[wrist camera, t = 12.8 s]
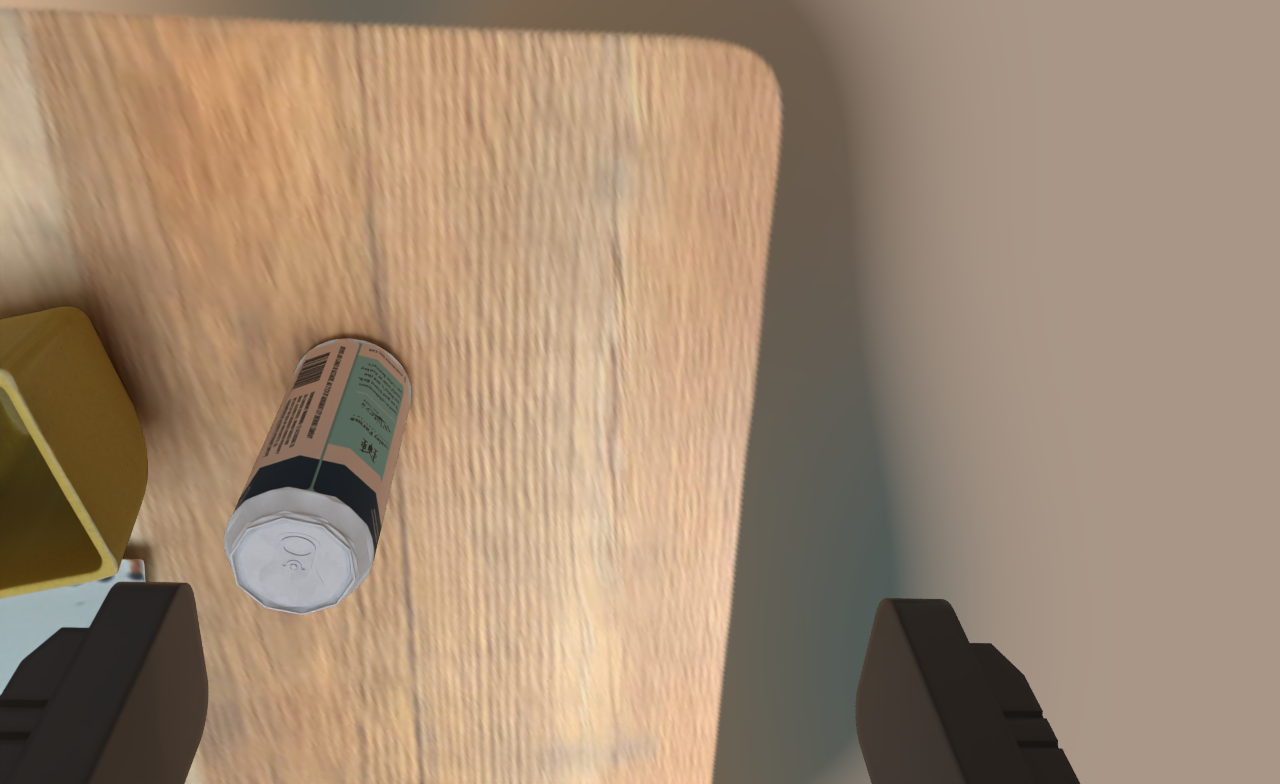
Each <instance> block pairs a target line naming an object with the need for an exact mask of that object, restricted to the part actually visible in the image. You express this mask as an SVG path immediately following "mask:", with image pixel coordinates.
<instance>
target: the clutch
mask: <svg viewBox="0 0 1280 784" xmlns="http://www.w3.org/2000/svg"><path fill="white" fill-rule="evenodd" d="M117 582H145V568H144V562H143V560H141V559H122V561H121V565H120V568H119V571H118V573H117V574H115V575H113V576H110V577H107V578H104V579H100V580H97V581H93V582H88V583H84V584H79V585H73V586H67V587H61V588H55V589H50V590H46V591H40V592H35V593H29V594H23V595H18V596H13V597H8V598H3V599H0V695H1V694H2V692H3V690H4V689H5V687H6V685H7V684H8V682H9V680H10V679H11V677H12V676H13V674H14V672H15V671H16V669H17V667H18V666H19V664H20V662H21V661H22V660H23V659H24V658H25V657H27V656H28V655H29V654H30V653H31V652H33V651H34V650H35V649H36V648H37V647H39V646H40V645H41V644H42V643H43V642H45V641H46V640H47V639H48V638H49V637H51V636H52V635H53V634H54V633H55V632H57V631H58V630H59V629H60V628H61V627H78V628H89V627H90V625H91V623H92V621H93V619H94V618H95V616H96V614H97V612H98V610H99V609H100V607H101V605H102V603H103V601H104V599H105V598H106V596H107V594H108V592H109V591H110V589H111V588H112V587H113V585H114V584H116V583H117Z"/></svg>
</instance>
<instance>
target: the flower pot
mask: <svg viewBox="0 0 1280 784" xmlns="http://www.w3.org/2000/svg"><path fill="white" fill-rule="evenodd" d="M147 478H148V459H147V450H146V444H145V439H144V436H143V432H142V428H141V425H140V422H139V419H138V417H137V414H136V411H135V408H134V406H133V404H132V402H131V400H130V398H129V396H128V394H127V392H126V390H125V388H124V386H123V384H122V382H121V381H120V379H119V377H118V375H117V373H116V371H115V369H114V367H113V365H112V363H111V361H110V359H109V357H108V355H107V353H106V351H105V349H104V347H103V345H102V343H101V341H100V339H99V337H98V335H97V333H96V331H95V329H94V327H93V325H92V323H91V321H90V319H89V317H88V316H87V315H86V314H85V313H84V312H83V311H81V310H79V309H78V308H74V307H57V308H52V309H48V310H43V311H39V312H34V313H30V314H25V315H20V316H15V317H10V318H5V319H0V599H3V598H8V597H13V596H18V595H23V594H29V593H35V592H40V591H46V590H50V589H55V588H61V587H67V586H73V585H79V584H84V583H88V582H93V581H97V580H100V579H104V578H107V577H110V576H113V575H115V574H117V573H118V571H119V568H120V565H121V561H122V558H123V555H124V552H125V549H126V547H127V544H128V541H129V538H130V535H131V533H132V530H133V527H134V524H135V521H136V518H137V515H138V512H139V510H140V507H141V504H142V500H143V497H144V494H145V490H146V485H147Z"/></svg>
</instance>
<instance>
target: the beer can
mask: <svg viewBox="0 0 1280 784" xmlns="http://www.w3.org/2000/svg"><path fill="white" fill-rule="evenodd" d="M410 401H411V387H410V382H409V379H408V376H407V374H406V372H405V370H404V369H403V367H402V365H401V364H400V363H399V362H398V361H397V360H396V359H395V358H394V357H393V356H392V355H391V354H390V353H389V352H387V351H386V350H384V349H382V348H381V347H379V346H377V345H375V344H372V343H369V342H367V341H363V340H357V339H335V340H331V341H328V342H325V343H323V344H320V345H318V346H316V347H314V348H313V349H311V350H310V351H309V352H308V353H307V354H306V355H305V356H304V357H303V358H302V359H301V360H300V362H299V364H298V365H297V367H296V369H295V372H294V375H293V378H292V380H291V383H290V385H289V387H288V389H287V392H286V394H285V396H284V399H283V401H282V403H281V405H280V408H279V410H278V412H277V415H276V417H275V419H274V421H273V424H272V426H271V428H270V431H269V433H268V435H267V437H266V440H265V442H264V444H263V447H262V449H261V451H260V453H259V456H258V458H257V460H256V462H255V465H254V467H253V469H252V472H251V474H250V476H249V478H248V481H247V483H246V485H245V488H244V490H243V492H242V494H241V497H240V499H239V501H238V504H237V506H236V508H235V510H234V513H233V515H232V517H231V518H230V520H229V521H228V524H227V527H226V531H225V537H224V547H225V552H226V555H227V558H228V560H229V563H230V565H231V567H232V570H233V573H234V575H235V579H236V583H237V586H238V587H239V588H241V589H242V590H243V591H244V592H246V593H247V594H248V595H250V596H251V597H252V598H253V599H255V600H256V601H257V602H258V603H260V604H261V605H262V606H263V607H265V608H268V609H273V610H278V611H284V612H289V613H294V614H300V615H305V614H309V613H312V612H315V611H318V610H322V609H325V608H328V607H331V606H335V605H338V603H339V602H340V601H341V600H342V599H343V598H345V597H346V596H348V595H349V594H350V593H352V592H353V591H354V590H355V589H356V588H357V587H358V586H359V585H360V584H361V583H362V582H363V581H364V580H365V579H366V577H367V576H368V574H369V571H370V569H371V566H372V564H373V561H374V557H375V553H376V548H377V544H378V540H379V536H380V531H381V527H382V523H383V518H384V514H385V510H386V506H387V501H388V497H389V493H390V488H391V484H392V480H393V476H394V471H395V467H396V463H397V458H398V454H399V450H400V445H401V441H402V437H403V433H404V428H405V424H406V420H407V415H408V411H409V407H410Z"/></svg>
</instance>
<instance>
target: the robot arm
mask: <svg viewBox="0 0 1280 784" xmlns="http://www.w3.org/2000/svg"><path fill="white" fill-rule="evenodd" d="M207 708H208V679H207V672H206V666H205V660H204V653H203V647H202V641H201V635H200V628H199V622H198V616H197V610H196V603H195V598H194V593H193V590H192V588H191V586H190V585H189V584H188V583H171V582H117V583H116V584H114V585H113V587H112V588H111V589H110V591H109V592H108V594H107V596H106V598H105V599H104V601H103V603H102V605H101V607H100V609H99V610H98V612H97V614H96V616H95V618H94V619H93V621H92V623H91V625H90V627H89V628H78V627H61V628H60V629H59V630H58V631H57V632H55V633H54V634H53V635H52V636H51V637H49V638H48V639H47V640H46V641H45V642H43V643H42V644H41V645H40V646H39V647H37V648H36V649H35V650H34V651H33V652H31V653H30V654H29V655H28V656H27V657H25V658H24V659H23V660H22V661H21V662H20V664H19V666H18V667H17V669H16V671H15V672H14V674H13V676H12V677H11V679H10V680H9V682H8V684H7V685H6V687H5V689H4V690H3V692H2V694H1V695H0V784H184V783H185V781H186V778H187V775H188V773H189V770H190V767H191V764H192V762H193V759H194V756H195V754H196V751H197V748H198V746H199V743H200V740H201V737H202V734H203V730H204V726H205V721H206V715H207ZM1042 712H1043V711H1042V709H1041V707H1040V705H1039V703H1038V701H1037V699H1036V698H1035V696H1034V694H1033V692H1032V690H1031V688H1030V686H1029V684H1028V682H1027V680H1026V678H1025V676H1024V675H1023V674H1022V673H1021V672H1020V671H1019V670H1018V669H1017V668H1016V667H1015V666H1014V665H1013V664H1012V663H1011V662H1010V661H1009V660H1008V659H1007V658H1005V656H1003V655H1002V654H1001V653H1000V652H999V651H998V650H997V649H996V648H995V647H994V646H993V645H992V644H991V643H990V644H989V643H969V641H968V639H967V637H966V635H965V633H964V630H963V628H962V626H961V624H960V622H959V620H958V618H957V616H956V614H955V611H954V609H953V608H952V606H951V605H950V603H949V602H948V601H946V600H943V599H900V598H885V599H883V600H882V601H881V602H880V604H879V606H878V608H877V612H876V615H875V619H874V623H873V627H872V631H871V635H870V639H869V644H868V648H867V652H866V656H865V660H864V664H863V668H862V672H861V677H860V680H859V685H858V689H857V695H856V727H857V734H858V739H859V743H860V747H861V750H862V753H863V757H864V760H865V763H866V766H867V770H868V773H869V776H870V779H871V782H872V784H1080V782H1079V781H1078V778H1077V777H1076V775H1075V773H1074V771H1073V769H1072V767H1071V765H1070V763H1069V761H1068V759H1067V757H1066V755H1065V753H1064V751H1063V750H1062V749H1059V748H1058V740H1057V738H1056V736H1055V734H1054V732H1053V731H1052V728H1051V726H1050V725H1049V723H1048V721H1047V719H1044V718H1043V716H1042Z"/></svg>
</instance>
